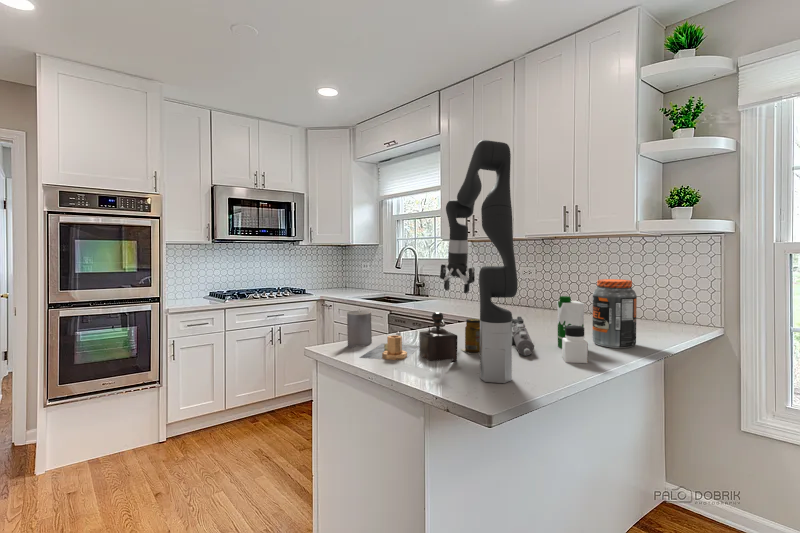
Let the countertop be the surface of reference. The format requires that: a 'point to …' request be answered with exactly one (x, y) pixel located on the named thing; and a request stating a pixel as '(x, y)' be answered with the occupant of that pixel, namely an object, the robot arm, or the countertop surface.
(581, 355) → the medicine bottle
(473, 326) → the condiment
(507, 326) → the robot arm
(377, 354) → the carrier
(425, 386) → the countertop surface
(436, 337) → the coffee grinder
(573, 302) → the milk carton
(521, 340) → the hydraulic cylinder
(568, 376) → the countertop surface
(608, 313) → the supplement tub
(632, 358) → the countertop surface
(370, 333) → the pillar candle
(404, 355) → the faceted vase
